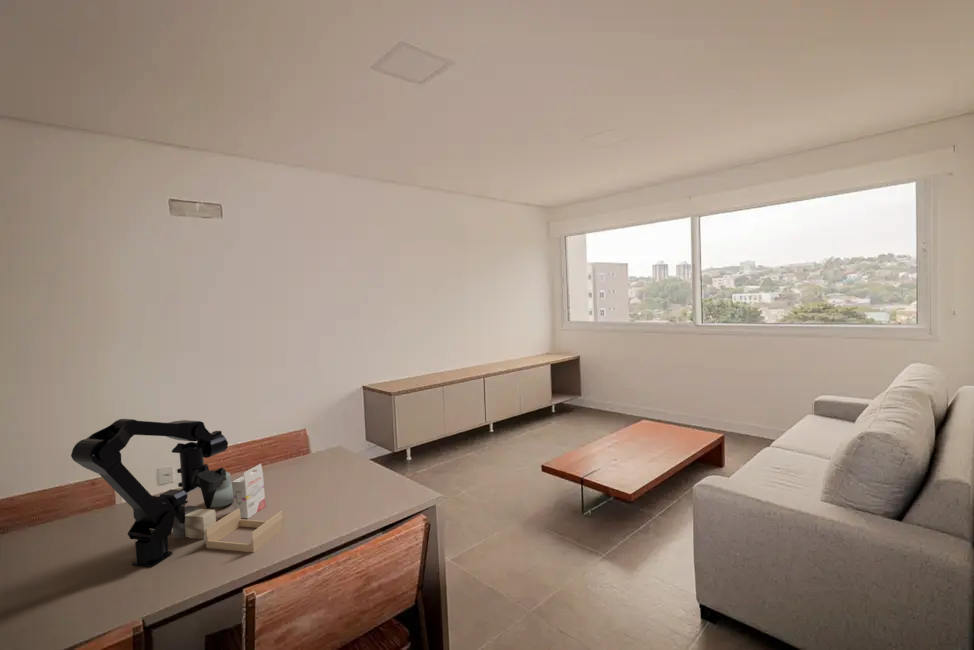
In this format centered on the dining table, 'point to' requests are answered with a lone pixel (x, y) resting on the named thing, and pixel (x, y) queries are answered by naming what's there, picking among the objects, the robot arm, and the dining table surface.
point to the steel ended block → (194, 523)
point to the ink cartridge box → (249, 492)
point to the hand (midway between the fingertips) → (196, 515)
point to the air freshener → (223, 493)
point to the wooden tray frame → (233, 521)
